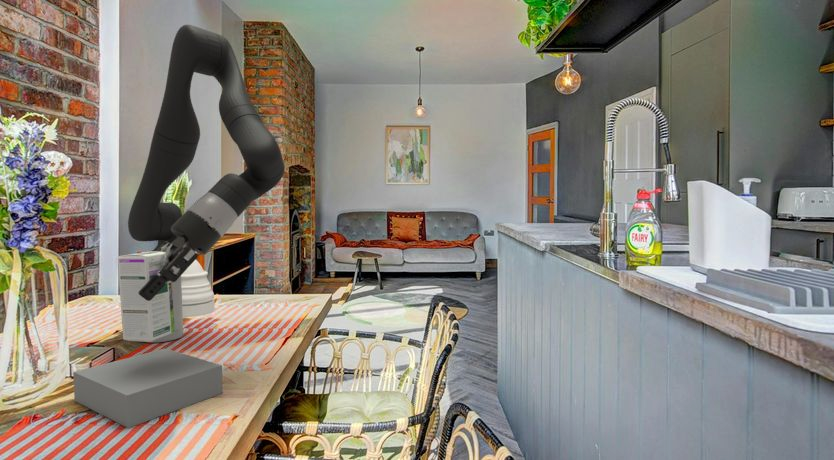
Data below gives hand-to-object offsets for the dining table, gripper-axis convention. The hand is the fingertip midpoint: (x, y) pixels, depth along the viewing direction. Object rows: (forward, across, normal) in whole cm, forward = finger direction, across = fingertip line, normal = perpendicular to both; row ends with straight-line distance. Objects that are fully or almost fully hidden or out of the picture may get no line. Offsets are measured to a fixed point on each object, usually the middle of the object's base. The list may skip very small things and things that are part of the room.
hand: (137, 293), depth 84 cm
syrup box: (+4, 0, +7) cm, 8 cm away
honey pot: (-6, -63, +32) cm, 71 cm away
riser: (+12, 0, +14) cm, 18 cm away
